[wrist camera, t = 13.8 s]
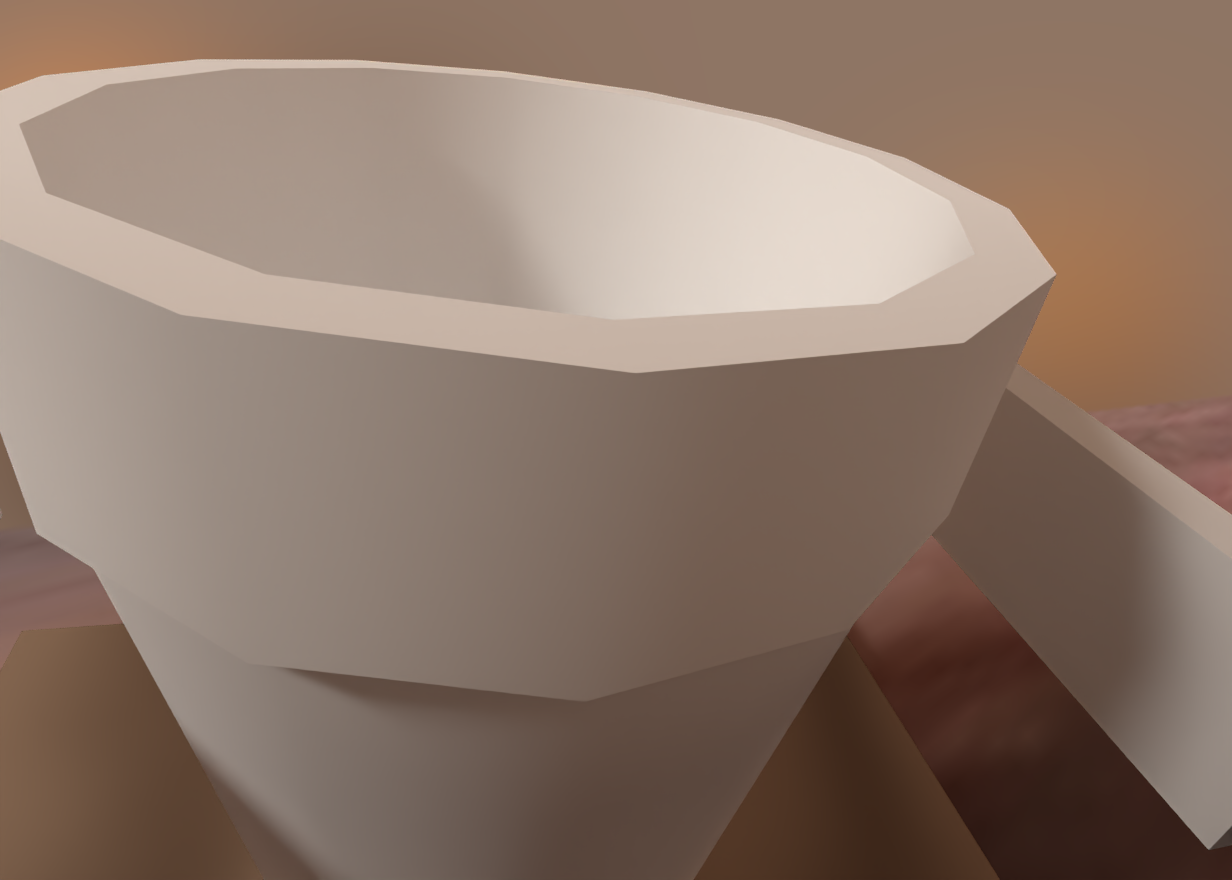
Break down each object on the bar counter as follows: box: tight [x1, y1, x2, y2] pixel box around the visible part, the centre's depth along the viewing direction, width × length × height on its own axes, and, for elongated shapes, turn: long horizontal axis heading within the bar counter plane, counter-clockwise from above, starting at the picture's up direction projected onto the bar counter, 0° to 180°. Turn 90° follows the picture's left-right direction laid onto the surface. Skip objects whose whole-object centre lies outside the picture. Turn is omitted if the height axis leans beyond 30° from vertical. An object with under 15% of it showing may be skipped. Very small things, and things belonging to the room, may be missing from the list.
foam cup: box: [0, 59, 1056, 880], centre depth 11 cm, size 10×9×13 cm
